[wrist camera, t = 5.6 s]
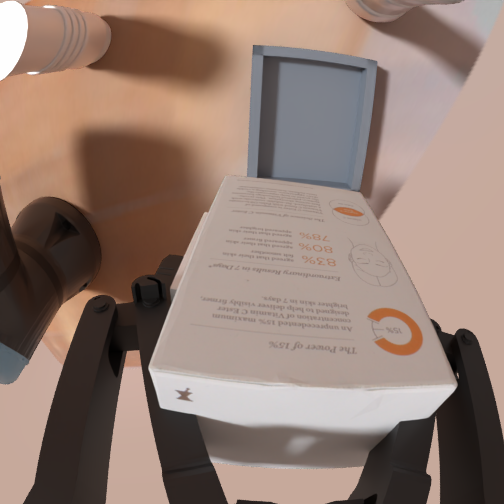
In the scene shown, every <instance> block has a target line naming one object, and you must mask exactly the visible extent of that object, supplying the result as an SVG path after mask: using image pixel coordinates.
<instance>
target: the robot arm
mask: <svg viewBox="0 0 504 504" xmlns="http://www.w3.org/2000/svg"><path fill="white" fill-rule="evenodd" d="M0 179H1V178H0ZM207 215H208V212H204V214H203V216H202V218H201V220H200V223H199V225H198V227H197V229H196V231H195V233H194V235H193V238H192V240H191V242H190V244H189V246H188V249H187V251H186V253H185V255H184V256H177V255H169V256H167V257H166V258H165V259H163V260H162V262H161V264H160V266H159V268H158V270H157V272H156V274H155V275H145V276H141V277H139V278H137V279H136V280H135V281H134V282H133V283H132V287H131V288H132V293H133V299H134V302H131V303H123V304H116V302H115V300H114V299H113V298H112V297H110V296H107V295H98V296H96V297H93V298H92V299H90V300H89V301H88V302H87V304H86V305H85V308H84V310H83V313H82V315H81V318H80V321H79V323H78V326H77V328H76V331H75V334H74V337H73V339H72V342H71V345H70V348H69V351H68V354H67V356H66V359H65V362H64V365H63V369H62V372H61V375H60V378H59V381H58V385H57V388H56V391H55V395H54V398H53V402H52V405H51V409H50V413H49V417H48V420H47V425H46V428H45V433H44V437H43V441H42V446H41V451H40V455H39V460H38V466H37V472H36V477H35V483H34V485H33V487H32V489H31V491H30V492H29V494H28V496H27V497H26V499H25V501H24V503H23V504H105V503H106V492H107V479H108V468H109V459H110V451H111V442H112V435H113V428H114V421H115V414H116V407H117V401H118V395H119V390H120V384H121V378H122V373H123V368H124V363H125V358H126V353H127V351H132V350H140V358H141V365H142V372H143V378H144V385H145V391H146V397H147V402H148V408H149V413H150V418H151V423H152V428H153V433H154V437H155V442H156V446H157V451H158V455H159V459H160V463H161V467H162V477H163V482H164V486H165V489H166V493H167V497H168V500H169V503H170V504H228V503H227V500H226V497H225V495H224V492H223V489H222V487H221V484H220V481H219V479H218V476H217V474H216V471H215V468H214V466H213V464H212V463H211V460H210V458H209V455H208V452H207V449H206V446H205V443H204V440H203V436H202V433H201V430H200V427H199V424H198V420H197V417H196V415H195V414H189V413H183V412H178V411H172V410H167V409H163V408H160V405H159V401H158V397H157V393H156V390H155V387H154V384H153V380H152V377H151V374H150V372H149V364H150V361H151V358H152V355H153V353H154V350H155V347H156V344H157V342H158V339H159V336H160V333H161V331H162V328H163V325H164V323H165V320H166V317H167V315H168V312H169V309H170V307H171V304H172V302H173V299H174V296H175V294H176V291H177V289H178V286H179V284H180V281H181V279H182V276H183V274H184V271H185V269H186V266H187V264H188V261H189V259H190V256H191V254H192V251H193V249H194V246H195V244H196V241H197V239H198V236H199V234H200V231H201V229H202V226H203V224H204V222H205V219H206V217H207ZM100 264H101V251H100V246H99V242H98V239H97V237H96V234H95V232H94V230H93V229H92V227H91V225H90V224H89V222H88V221H87V220H86V219H85V217H84V216H83V215H82V214H81V213H80V212H79V211H78V210H77V209H75V208H74V207H73V206H71V205H70V204H68V203H67V202H65V201H62V200H60V199H57V198H53V197H42V198H38V199H36V200H34V201H33V202H31V203H30V204H29V205H27V206H26V207H25V208H24V209H23V210H22V211H21V212H20V213H19V215H18V216H17V218H16V221H15V223H14V224H13V226H12V228H11V227H10V224H9V220H8V216H7V212H6V208H5V204H4V200H3V196H2V191H1V187H0V384H10V383H13V382H14V381H16V380H17V378H18V377H19V375H20V373H21V372H22V370H23V369H24V367H25V365H27V364H28V363H29V360H30V359H31V357H32V355H33V353H34V351H35V349H36V347H37V346H38V344H39V342H40V340H41V339H42V337H43V335H44V333H45V332H46V330H47V328H48V326H49V325H50V323H51V321H52V320H53V318H54V316H55V315H56V313H57V311H58V310H59V308H60V307H61V305H62V304H63V303H65V302H66V301H68V300H69V299H71V298H72V297H74V296H75V295H77V294H78V293H79V292H81V291H83V290H84V289H86V288H87V287H88V286H89V285H90V283H91V282H92V281H93V279H94V278H95V276H96V274H97V273H98V271H99V268H100ZM430 320H431V322H432V324H433V326H434V329H435V331H436V333H437V335H438V338H439V340H440V342H441V344H442V347H443V349H444V352H445V354H446V357H447V359H448V361H449V364H450V366H451V369H452V371H453V373H454V376H455V378H456V381H457V385H458V386H457V388H456V389H455V391H454V392H453V393H452V394H451V395H450V396H449V397H448V398H447V399H446V400H445V401H444V402H443V403H442V404H441V405H440V406H439V408H438V409H437V410H436V411H435V412H434V413H433V414H432V415H431V416H430V417H428V418H424V419H416V420H408V421H400V422H399V423H398V424H397V425H396V426H395V427H394V428H393V429H392V430H391V431H390V432H389V433H388V434H387V435H386V436H385V437H384V438H383V439H382V440H381V441H380V442H379V443H378V444H377V445H376V446H375V447H374V448H373V449H372V450H371V451H370V452H369V454H368V457H367V460H366V463H365V466H364V469H363V471H362V474H361V477H360V479H359V482H358V484H357V486H356V488H355V490H354V491H353V492H352V494H351V495H350V497H349V498H348V500H343V501H334V502H330V503H327V504H426V503H427V499H428V495H429V491H430V486H431V476H430V475H428V474H427V473H426V468H427V463H428V458H429V453H430V448H431V442H432V436H433V430H434V423H435V416H436V419H437V430H438V442H439V458H440V504H504V440H503V435H502V429H501V424H500V419H499V414H498V410H497V406H496V401H495V397H494V393H493V389H492V385H491V381H490V378H489V374H488V371H487V368H486V364H485V361H484V358H483V354H482V351H481V348H480V346H479V342H478V340H477V338H476V336H475V335H474V334H473V333H472V332H471V331H469V330H467V329H459V330H457V331H456V333H455V335H451V334H448V333H445V332H442V331H441V328H440V326H439V324H438V323H437V322H435V321H434V320H432V319H430ZM457 373H458V374H459V378H458V376H457ZM236 504H276V503H272V502H263V501H248V500H237V503H236Z"/></svg>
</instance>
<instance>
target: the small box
mask: <svg viewBox="0 0 504 504" xmlns="http://www.w3.org/2000/svg"><path fill="white" fill-rule="evenodd" d="M149 372H150V374H151V377H152V380H153V384H154V387H155V390H156V393H157V397H158V401H159V405H160V408H163V409H167V410H172V411H178V412H183V413H189V414H195V415H196V417H197V420H198V424H199V427H200V430H201V433H202V436H203V440H204V443H205V446H206V449H207V452H208V455H209V458H210V460H211V462H214V463H222V464H230V465H241V466H251V467H265V468H289V469H319V468H321V469H322V468H346V467H360V466H365V463H366V460H367V457H368V454H369V452H370V451H371V450H372V449H373V448H374V447H375V446H376V445H377V444H378V443H379V442H380V441H381V440H382V439H383V438H384V437H385V436H386V435H387V434H388V433H389V432H390V431H391V430H392V429H393V428H394V427H395V426H396V425H397V424H398V423H399V422H400V421H408V420H416V419H424V418H428V417H430V416H431V415H432V414H433V413H434V412H435V411H436V410H437V409H438V408H439V406H440V405H441V404H442V403H443V402H444V401H445V400H446V399H447V398H448V397H449V396H450V395H451V394H452V393H453V392H454V391H455V389H456V388H457V386H458V385H457V381H456V378H455V376H454V373H453V371H452V369H451V366H450V364H449V361H448V359H447V357H446V354H445V352H444V349H443V347H442V344H441V342H440V340H439V338H438V335H437V333H436V331H435V329H434V326H433V324H432V322H431V320H430V318H429V315H428V313H427V311H426V309H425V307H424V305H423V303H422V301H421V299H420V296H419V294H418V292H417V290H416V288H415V286H414V284H413V283H412V280H411V278H410V276H409V275H408V273H407V271H406V269H405V267H404V265H403V263H402V262H401V260H400V258H399V256H398V254H397V252H396V250H395V249H394V247H393V245H392V243H391V241H390V239H389V238H388V236H387V235H386V233H385V231H384V229H383V227H382V226H381V224H380V222H379V221H378V219H377V217H376V216H375V214H374V212H373V211H372V209H371V208H370V206H369V204H368V203H367V201H366V199H365V198H364V196H363V195H362V193H360V192H355V191H349V190H343V189H337V188H331V187H324V186H318V185H311V184H304V183H296V182H289V181H281V180H273V179H264V178H254V177H244V176H233V175H226V176H225V178H224V180H223V182H222V184H221V186H220V188H219V191H218V193H217V195H216V197H215V199H214V201H213V203H212V205H211V208H210V210H209V212H208V215H207V217H206V219H205V222H204V224H203V226H202V229H201V231H200V234H199V236H198V239H197V241H196V244H195V246H194V249H193V251H192V254H191V256H190V259H189V261H188V264H187V266H186V269H185V271H184V274H183V276H182V279H181V281H180V284H179V286H178V289H177V291H176V294H175V296H174V299H173V302H172V304H171V307H170V309H169V312H168V315H167V317H166V320H165V323H164V325H163V328H162V331H161V333H160V336H159V339H158V342H157V344H156V347H155V350H154V353H153V355H152V358H151V361H150V364H149Z"/></svg>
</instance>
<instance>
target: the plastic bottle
mask: <svg viewBox="0 0 504 504" xmlns="http://www.w3.org/2000/svg"><path fill="white" fill-rule="evenodd" d="M462 1H464V0H345V2H346V4H347V5H348V7H349V8H350V9H351V10H352V11H353V12H354V13H355V14H357V15H358V16H360V17H361V18H363V19H366V20H368V21H373V22H391V21H394V20H397V19H398V18H400V17H401V16H403V15H404V14H405V13H406V12H407V11H408V10H410V9H412V8H414V7H417V6H422V5H433V4H444V5H447V4H455V3H460V2H462Z"/></svg>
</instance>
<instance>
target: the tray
mask: <svg viewBox="0 0 504 504" xmlns="http://www.w3.org/2000/svg"><path fill="white" fill-rule="evenodd" d="M376 72H377V61H374V60H370V59H365V58H360V57H355V56H349V55H343V54H337V53H331V52H324V51H317V50H309V49H300V48H289V47H277V46H260V45H253V55H252V76H251V98H250V120H249V144H248V168H247V177H254V178H264V179H273V180H281V181H289V182H296V183H304V184H311V185H318V186H324V187H331V188H337V189H343V190H349V191H355V192H360V186H361V181H362V175H363V169H364V163H365V157H366V151H367V145H368V138H369V131H370V124H371V117H372V109H373V100H374V92H375V82H376Z"/></svg>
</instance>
